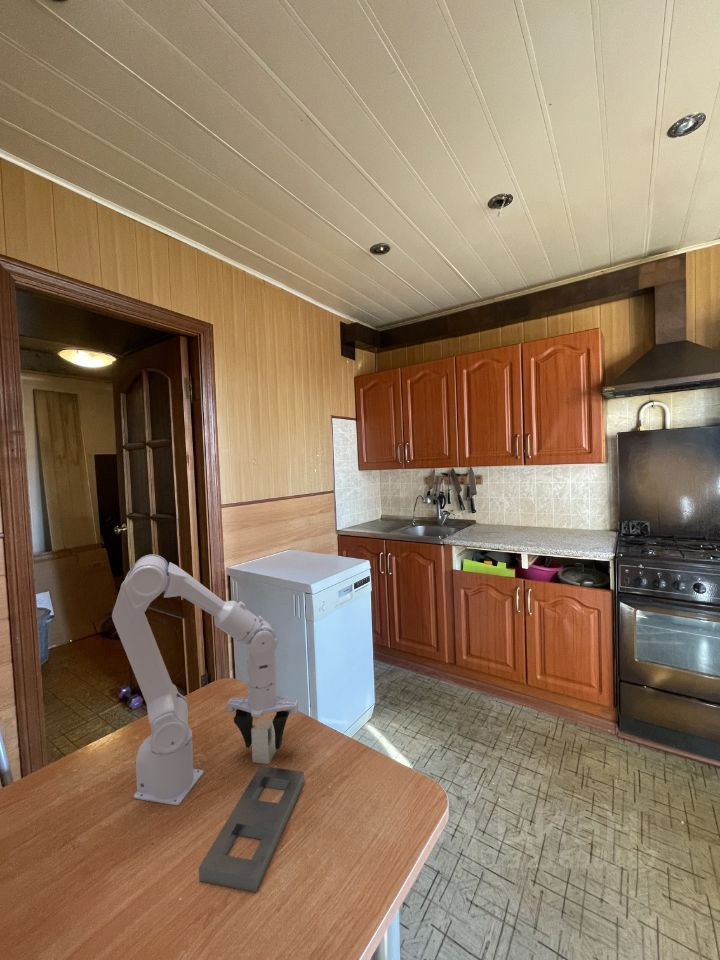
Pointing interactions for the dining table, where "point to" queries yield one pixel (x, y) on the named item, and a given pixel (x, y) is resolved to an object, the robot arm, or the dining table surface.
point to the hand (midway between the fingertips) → (264, 745)
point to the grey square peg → (263, 741)
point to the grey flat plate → (252, 830)
